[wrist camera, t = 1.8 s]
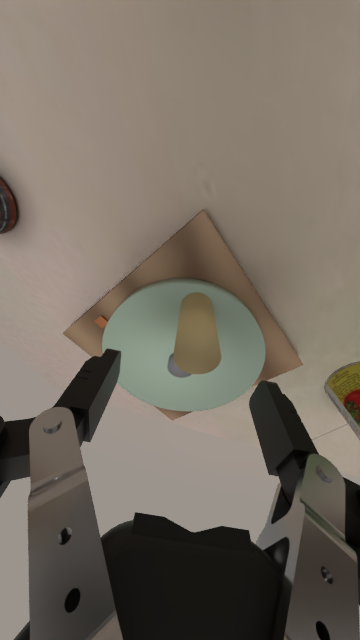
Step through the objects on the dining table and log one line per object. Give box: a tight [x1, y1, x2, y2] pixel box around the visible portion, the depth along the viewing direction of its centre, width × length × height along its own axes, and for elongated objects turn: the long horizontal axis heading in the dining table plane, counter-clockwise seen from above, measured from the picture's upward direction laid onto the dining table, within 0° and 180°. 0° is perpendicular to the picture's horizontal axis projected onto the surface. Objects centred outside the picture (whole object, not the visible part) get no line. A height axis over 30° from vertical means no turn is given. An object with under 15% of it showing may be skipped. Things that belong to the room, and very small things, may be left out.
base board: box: [63, 210, 303, 420], centre depth 24 cm, size 21×21×2 cm
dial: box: [102, 278, 266, 411], centre depth 19 cm, size 18×18×9 cm
